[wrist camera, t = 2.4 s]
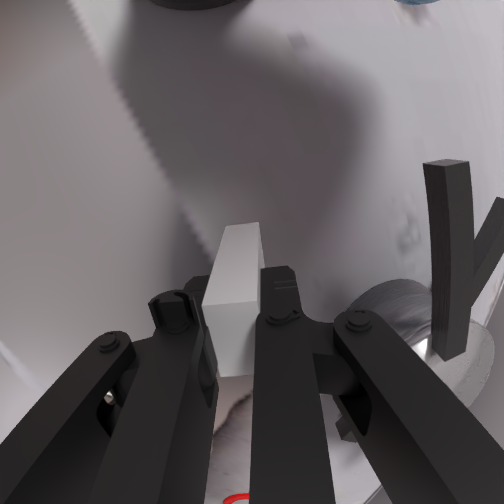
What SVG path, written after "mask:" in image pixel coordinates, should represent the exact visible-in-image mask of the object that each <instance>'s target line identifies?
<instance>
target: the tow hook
mask: <svg viewBox="0 0 504 504" xmlns="http://www.w3.org/2000/svg"><path fill="white" fill-rule="evenodd" d="M242 499H249V493H243V494H236V495H232V496H229V497H228V498H226V499H225V500H224V501H223V504H232V503H233V502H234V501H237V500H242Z"/></svg>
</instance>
